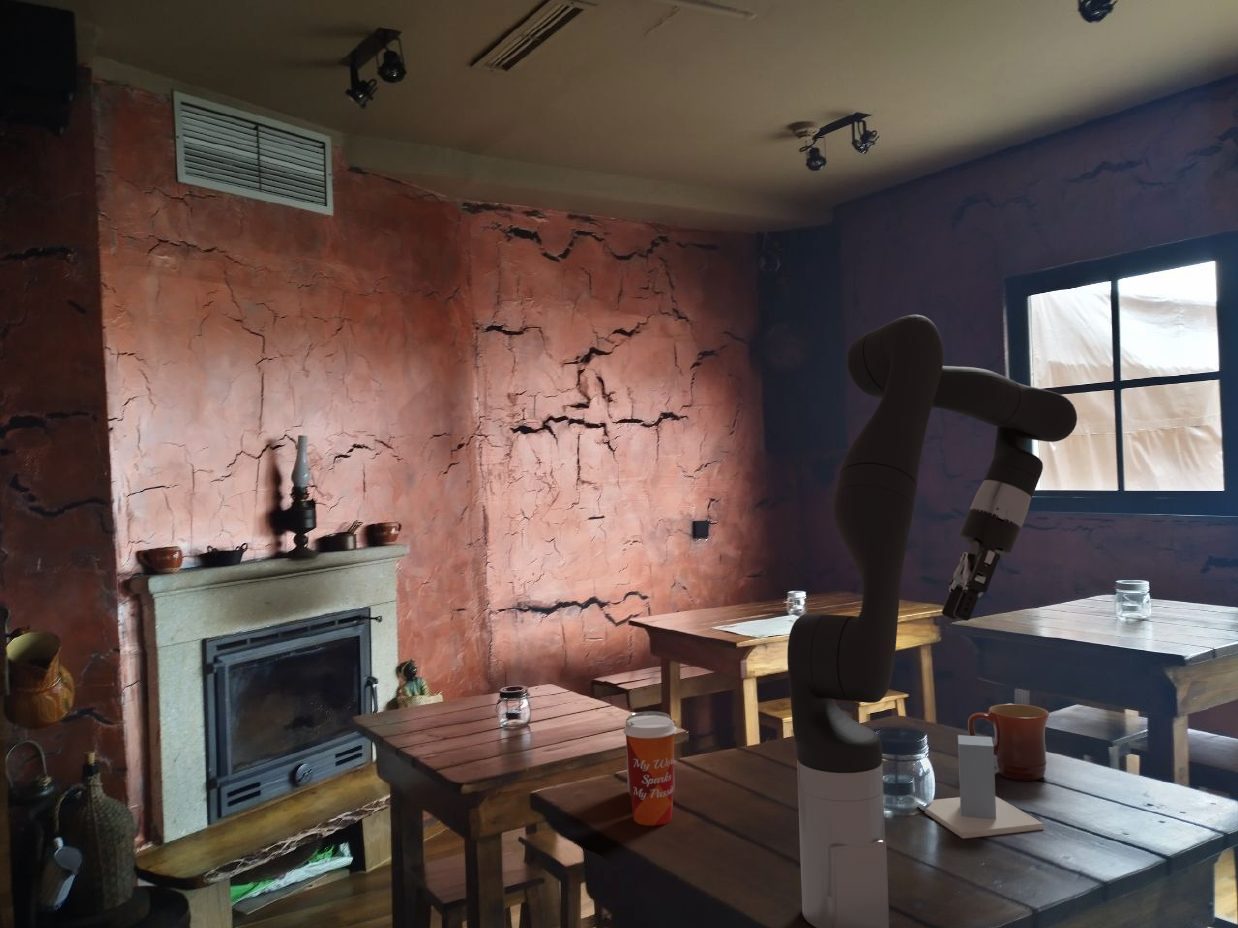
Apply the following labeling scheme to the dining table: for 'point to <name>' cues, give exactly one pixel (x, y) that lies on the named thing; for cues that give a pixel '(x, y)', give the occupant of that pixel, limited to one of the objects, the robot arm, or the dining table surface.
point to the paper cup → (651, 768)
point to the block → (977, 777)
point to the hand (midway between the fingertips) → (954, 617)
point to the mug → (1017, 739)
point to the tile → (981, 819)
